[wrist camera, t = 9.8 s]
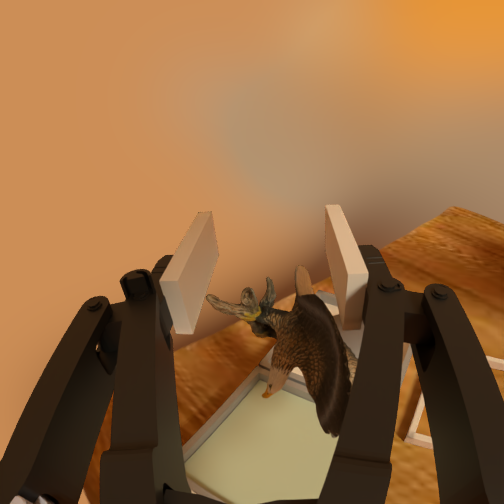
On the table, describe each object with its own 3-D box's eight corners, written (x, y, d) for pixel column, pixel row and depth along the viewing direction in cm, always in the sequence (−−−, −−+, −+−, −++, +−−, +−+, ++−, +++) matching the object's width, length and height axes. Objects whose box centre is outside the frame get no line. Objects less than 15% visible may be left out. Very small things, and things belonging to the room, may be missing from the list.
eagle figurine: (177, 363, 15) (306, 482, 9) (229, 236, 15) (406, 319, 9) (266, 361, 21) (373, 433, 15) (309, 267, 21) (433, 324, 15)
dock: (319, 302, 39) (320, 283, 38) (418, 330, 32) (424, 310, 31) (167, 478, 20) (155, 465, 19) (306, 559, 13) (308, 558, 12)
